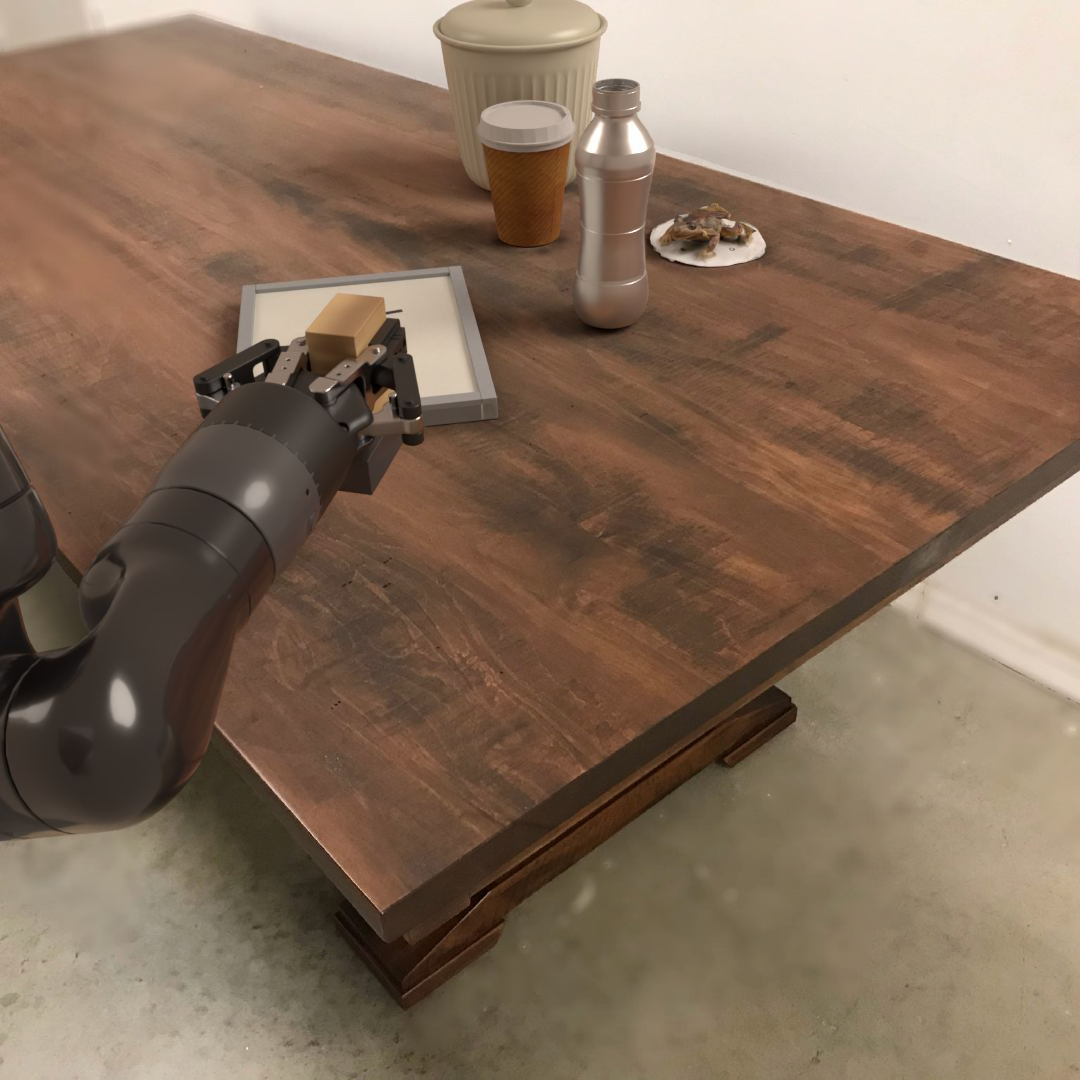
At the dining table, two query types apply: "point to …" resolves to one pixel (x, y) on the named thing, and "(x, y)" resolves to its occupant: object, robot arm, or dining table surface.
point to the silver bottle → (613, 207)
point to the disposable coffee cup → (527, 167)
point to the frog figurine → (707, 239)
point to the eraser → (348, 335)
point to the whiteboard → (423, 309)
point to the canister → (518, 64)
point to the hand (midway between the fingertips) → (366, 329)
